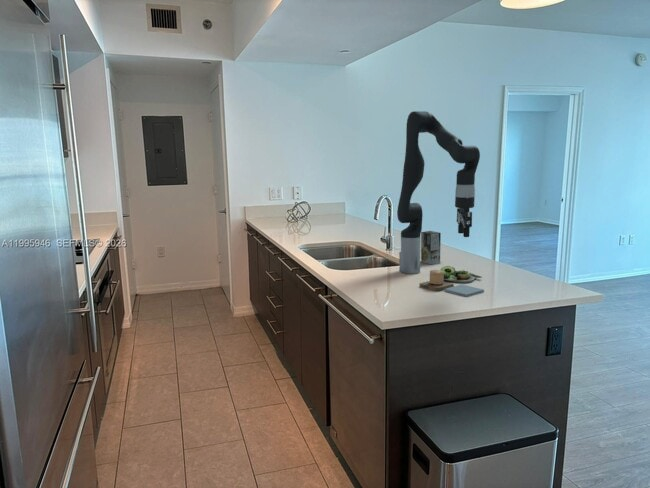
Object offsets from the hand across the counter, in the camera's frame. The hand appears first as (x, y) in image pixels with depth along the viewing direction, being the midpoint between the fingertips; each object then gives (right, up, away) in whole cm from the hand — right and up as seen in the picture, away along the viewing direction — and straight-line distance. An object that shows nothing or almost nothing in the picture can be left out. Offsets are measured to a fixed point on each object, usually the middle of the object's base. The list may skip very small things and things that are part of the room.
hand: (463, 235), depth 195 cm
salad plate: (+2, -20, +21) cm, 29 cm away
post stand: (-10, -22, +7) cm, 25 cm away
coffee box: (-1, -14, +55) cm, 56 cm away
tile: (0, -23, -1) cm, 23 cm away
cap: (-10, -20, +6) cm, 23 cm away
